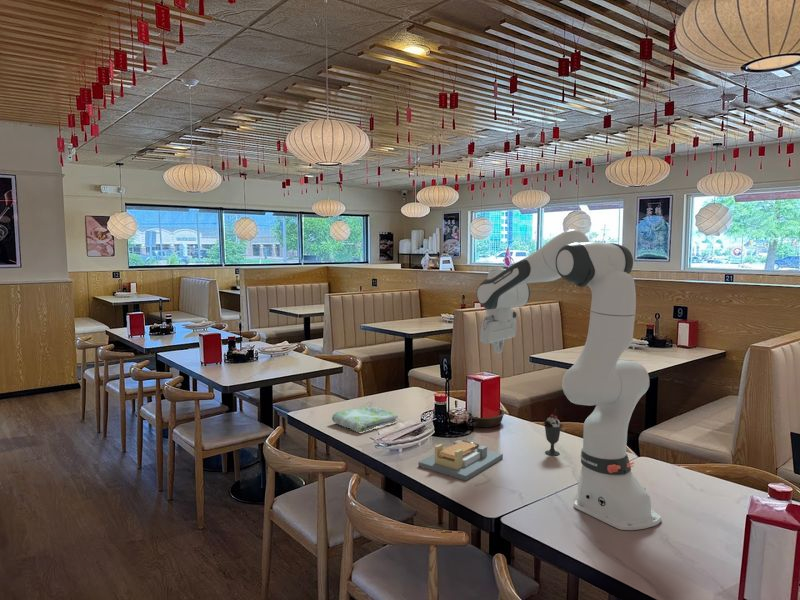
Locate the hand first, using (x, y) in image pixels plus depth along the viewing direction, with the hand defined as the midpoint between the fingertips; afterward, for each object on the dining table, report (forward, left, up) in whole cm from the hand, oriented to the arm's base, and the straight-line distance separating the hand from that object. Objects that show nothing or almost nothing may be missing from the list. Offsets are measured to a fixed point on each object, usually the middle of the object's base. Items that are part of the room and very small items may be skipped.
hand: (498, 352), depth 193 cm
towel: (+40, +38, -34) cm, 65 cm away
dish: (+23, -7, -34) cm, 41 cm away
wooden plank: (-9, +16, -29) cm, 34 cm away
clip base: (-12, +21, -33) cm, 41 cm away
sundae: (-16, -12, -33) cm, 39 cm away
